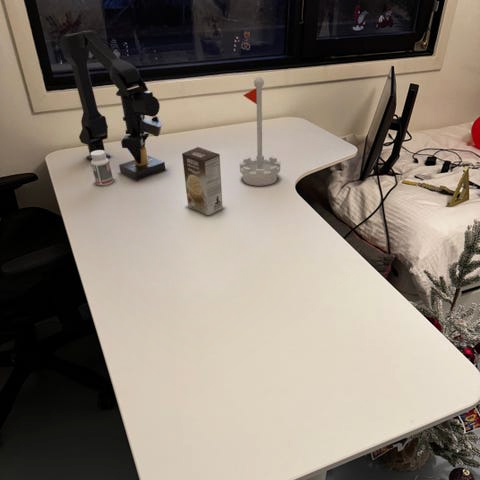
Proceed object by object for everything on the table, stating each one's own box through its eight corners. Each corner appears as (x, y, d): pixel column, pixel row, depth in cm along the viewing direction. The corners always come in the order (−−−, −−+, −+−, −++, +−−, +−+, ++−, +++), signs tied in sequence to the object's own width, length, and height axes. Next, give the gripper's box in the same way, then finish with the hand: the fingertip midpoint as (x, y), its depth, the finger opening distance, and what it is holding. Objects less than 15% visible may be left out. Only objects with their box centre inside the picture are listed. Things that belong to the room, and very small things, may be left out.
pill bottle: (115, 179, 156) (109, 149, 149) (110, 185, 151) (103, 155, 145) (99, 179, 156) (92, 149, 150) (93, 185, 152) (86, 155, 146)
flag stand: (285, 174, 153) (288, 73, 134) (271, 189, 144) (271, 83, 125) (249, 169, 158) (247, 71, 139) (233, 183, 149) (228, 80, 130)
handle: (132, 163, 158) (129, 147, 155) (143, 159, 160) (140, 144, 157) (139, 166, 155) (137, 150, 152) (150, 162, 158) (148, 147, 154)
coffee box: (186, 207, 136) (180, 152, 126) (202, 200, 140) (197, 146, 130) (208, 216, 131) (203, 160, 121) (224, 208, 135) (220, 153, 125)
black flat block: (120, 173, 159) (118, 164, 157) (149, 163, 166) (147, 154, 164) (136, 180, 154) (135, 171, 152) (165, 170, 160) (164, 161, 158)
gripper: (152, 119, 140) (160, 170, 150) (162, 103, 154) (168, 150, 164) (116, 120, 140) (126, 171, 150) (129, 104, 155) (137, 151, 165)
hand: (141, 160), depth 157 cm, fingers open, 5 cm apart
